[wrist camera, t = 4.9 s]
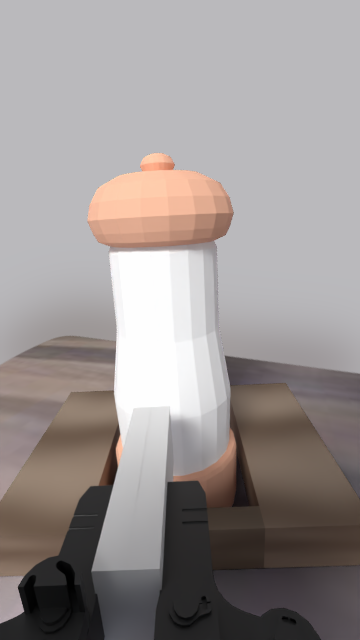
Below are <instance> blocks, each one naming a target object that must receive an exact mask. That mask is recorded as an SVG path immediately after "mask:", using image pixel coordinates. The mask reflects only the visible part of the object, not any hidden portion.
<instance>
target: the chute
mask: <svg viewBox="0 0 360 640" xmlns="http://www.w3.org/2000/svg"><path fill="white" fill-rule="evenodd" d="M230 426H231V429H232V431H233V433H234V437H235V441H236V451H237V456H238V460H239V464H240V468H241V473H242V477H243V481H244V485H245V490H246V494H247V498H248V502H249V506H247V507H219V508H207V515H208V526H209V537H210V548H211V559H212V570H221V569H253V568H285V567H317V566H350V565H360V499H359V497H358V496H357V494H356V492H355V491H354V489H353V488H352V486H351V485H350V483H349V481H348V480H347V478H346V477H345V475H344V474H343V472H342V471H341V469H340V467H339V466H338V464H337V463H336V461H335V460H334V458H333V456H332V455H331V453H330V452H329V450H328V449H327V447H326V445H325V444H324V442H323V441H322V439H321V438H320V436H319V434H318V433H317V431H316V430H315V428H314V427H313V425H312V423H311V422H310V420H309V419H308V417H307V416H306V414H305V412H304V411H303V409H302V408H301V406H300V405H299V403H298V402H297V400H296V398H295V397H294V395H293V394H292V392H291V391H290V389H289V387H288V386H287V384H286V383H275V384H252V385H230ZM119 437H120V428H119V422H118V416H117V410H116V403H115V397H114V391H92V392H71V393H70V395H69V396H68V398H67V400H66V401H65V403H64V404H63V406H62V407H61V409H60V410H59V412H58V413H57V415H56V416H55V418H54V420H53V421H52V423H51V424H50V426H49V427H48V429H47V430H46V432H45V433H44V435H43V436H42V438H41V440H40V441H39V443H38V444H37V446H36V447H35V449H34V450H33V452H32V453H31V455H30V457H29V458H28V460H27V461H26V463H25V464H24V466H23V467H22V469H21V470H20V472H19V473H18V475H17V477H16V478H15V480H14V481H13V483H12V484H11V486H10V487H9V489H8V490H7V492H6V493H5V495H4V497H3V498H2V500H1V501H0V576H25V575H26V574H27V573H28V572H29V571H30V570H31V569H32V568H33V567H34V566H35V565H36V564H38V563H40V562H41V561H43V560H45V559H47V558H49V557H53V556H58V555H59V553H60V550H61V547H62V545H63V542H64V539H65V536H66V534H67V531H68V530H69V526H70V523H71V520H72V518H73V517H74V512H75V509H76V507H77V504H78V501H79V499H80V498H81V497H82V495H83V494H84V493H85V492H86V491H87V489H88V488H89V487H90V486H105V485H113V484H114V481H115V477H116V473H117V469H118V463H117V456H116V446H117V443H118V440H119Z"/></svg>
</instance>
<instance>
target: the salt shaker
mask: <svg viewBox="0 0 360 640" xmlns="http://www.w3.org/2000/svg"><path fill="white" fill-rule="evenodd" d="M174 165H175V164H174V163H173V161H172V159H171V157H170V156H167V155H165V154H163V153H153V154H149V155H148V156H146V157H144V158H143V160H142V162H141V165H140V167H141V169H142V171H143V172H134V173H128V174H123V175H120V176H117V177H116V178H114V179H112V180H111V181H109V182H107V183H105V184H104V185H102V186H101V187H99V188H98V189H97V191H96V193H95V195H94V197H93V199H92V201H91V203H90V205H89V213H88V223H89V226H90V228H91V230H92V232H93V234H94V236H95V237H96V239H97V241H98V242H99V243H102V244H105V245H108V246H111V247H110V250H109V259H110V269H111V278H112V287H113V297H114V306H115V315H116V324H117V342H116V363H115V384H114V397H115V403H116V410H117V416H118V422H119V428H120V437H119V440H118V443H117V446H116V456H117V463H118V466H119V462H120V458H121V455H122V451H123V447H124V443H125V439H126V435H127V431H128V427H129V424H130V420H131V416H132V412H133V408H139V407H161V406H170V416H171V430H172V444H173V458H174V469H173V482H176V481H199V483H200V485H201V486H202V488H203V490H204V491H205V493H206V504H207V508H219V507H231V506H232V505H233V503H234V498H235V493H236V441H235V437H234V433H233V431H232V429H231V428H230V384H229V378H228V373H227V367H226V362H225V356H224V351H223V345H222V340H221V334H220V329H219V311H218V279H217V278H218V277H217V276H218V275H217V246H216V244H215V242H214V240H216V239H218V238H220V237H222V236H224V235H226V233H227V231H228V229H229V227H230V224H231V220H232V217H233V209H232V205H231V201H230V197H229V196H228V194H227V193H226V191H225V190H224V188H223V187H222V185H221V183H219V182H217V181H215V180H213V179H211V178H209V177H207V176H205V175H202V174H200V173H198V172H195V171H187V170H173V168H174Z"/></svg>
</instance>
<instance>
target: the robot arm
mask: <svg viewBox="0 0 360 640" xmlns="http://www.w3.org/2000/svg"><path fill="white" fill-rule="evenodd" d="M173 469H174V458H173V444H172V430H171V416H170V406H161V407H139V408H133V412H132V416H131V420H130V424H129V427H128V431H127V435H126V439H125V443H124V447H123V451H122V455H121V458H120V462H119V466H118V470H117V474H116V478H115V482H114V485H105V486H90V487H89V488H88V489H87V491H86V492H85V493H84V494H83V495H82V497H81V498H80V499H79V501H78V504H77V507H76V509H75V512H74V517H73V518H72V520H71V523H70V526H69V530H68V531H67V534H66V536H65V539H64V542H63V545H62V547H61V550H60V553H59V555H58V556H53V557H49V558H47V559H45V560H43V561H41V562H40V563H38V564H36V565H35V566H34V567H33V568H32V569H31V570H30V571H29V572H28V573H27V574H26V575H25V576H24V578H23V579H22V581H21V583H20V584H19V586H18V590H19V593H20V597H21V601H22V604H23V608H24V612H23V613H22V614H20V615H19V616H17V617H15V618H13V619H11V620H8V621H6V622H3V623H1V624H0V640H321V639H320V637H319V635H318V634H317V633H316V631H315V630H314V628H313V627H312V626H311V624H310V623H309V622H308V621H307V620H306V619H304V618H303V617H302V616H301V615H299V614H298V613H297V612H294V611H291V610H288V609H285V608H277V609H271V610H269V611H268V612H266V613H264V614H263V615H262V616H261V617H259V616H256V615H253V614H250V613H248V612H245V611H242V610H240V609H238V608H236V607H234V606H232V605H231V604H230V603H229V602H227V601H226V600H225V599H224V598H223V596H222V595H221V594H220V592H219V591H218V589H217V586H216V584H215V581H214V577H213V570H212V559H211V548H210V537H209V526H208V515H207V504H206V493H205V491H204V490H203V488H202V486H201V485H200V483H199V481H176V482H173Z"/></svg>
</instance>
